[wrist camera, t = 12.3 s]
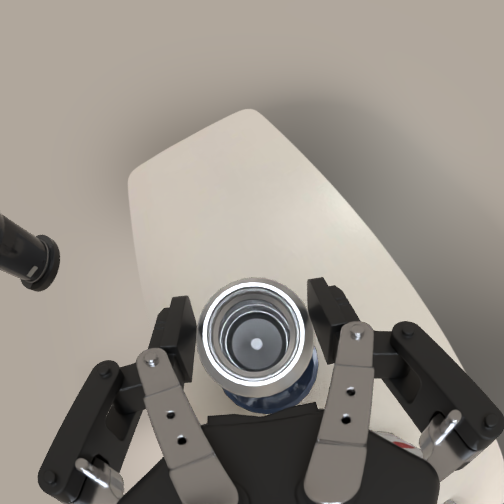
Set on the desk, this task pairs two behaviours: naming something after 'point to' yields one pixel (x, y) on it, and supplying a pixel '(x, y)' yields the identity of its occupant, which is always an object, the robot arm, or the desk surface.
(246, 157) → the desk surface
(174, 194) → the desk surface
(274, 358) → the silver bottle
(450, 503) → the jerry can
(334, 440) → the robot arm
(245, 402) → the bowl
